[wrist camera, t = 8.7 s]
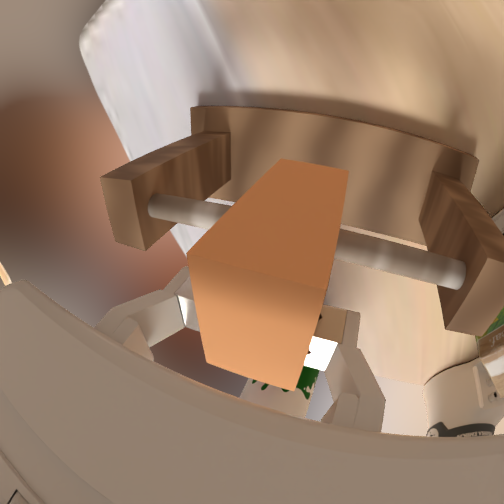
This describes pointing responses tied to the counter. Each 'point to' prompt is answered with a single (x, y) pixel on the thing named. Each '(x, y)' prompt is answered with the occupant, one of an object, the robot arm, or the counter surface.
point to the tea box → (494, 337)
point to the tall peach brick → (268, 271)
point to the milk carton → (283, 393)
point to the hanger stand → (355, 205)
